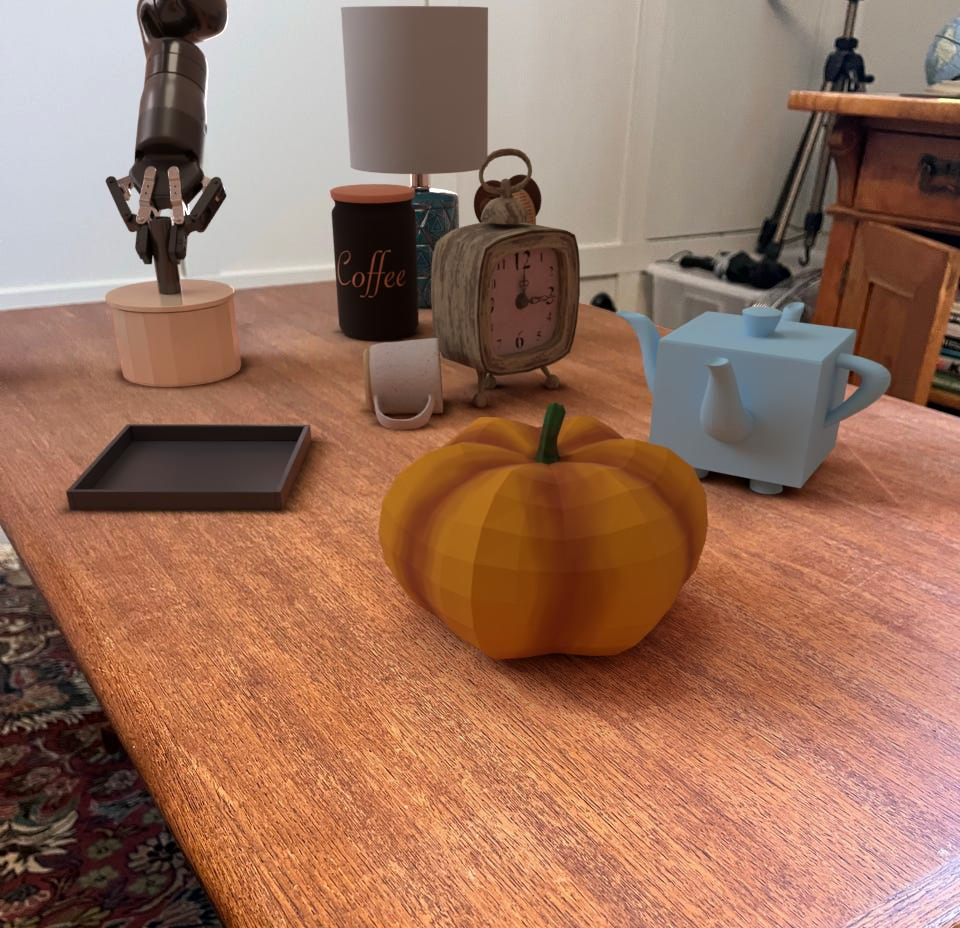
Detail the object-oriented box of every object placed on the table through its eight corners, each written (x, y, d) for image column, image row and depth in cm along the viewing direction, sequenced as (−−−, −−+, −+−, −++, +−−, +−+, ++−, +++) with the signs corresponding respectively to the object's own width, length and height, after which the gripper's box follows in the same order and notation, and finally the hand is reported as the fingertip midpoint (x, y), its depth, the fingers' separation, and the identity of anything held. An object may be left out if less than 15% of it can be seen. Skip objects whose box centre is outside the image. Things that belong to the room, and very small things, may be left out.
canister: (108, 389, 116) (93, 313, 111) (142, 356, 127) (130, 286, 123) (227, 389, 115) (217, 313, 111) (250, 356, 127) (242, 286, 123)
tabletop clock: (476, 416, 107) (476, 156, 95) (425, 396, 113) (418, 149, 101) (574, 390, 115) (587, 147, 103) (522, 372, 121) (527, 141, 109)
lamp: (391, 325, 141) (377, 5, 121) (339, 297, 155) (318, 8, 136) (510, 309, 149) (515, 6, 129) (450, 284, 163) (446, 9, 144)
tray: (70, 513, 86) (65, 491, 85) (130, 443, 100) (126, 424, 99) (282, 513, 86) (280, 491, 85) (311, 443, 100) (310, 424, 99)
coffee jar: (328, 341, 133) (317, 193, 124) (355, 322, 142) (347, 182, 133) (405, 346, 131) (400, 196, 122) (428, 326, 140) (425, 185, 131)
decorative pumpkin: (384, 557, 79) (374, 364, 71) (664, 549, 80) (684, 359, 72) (380, 704, 61) (367, 471, 54) (737, 691, 63) (774, 461, 55)
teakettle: (883, 499, 89) (921, 328, 81) (686, 521, 85) (707, 343, 77) (775, 429, 104) (799, 280, 97) (604, 444, 100) (615, 291, 93)
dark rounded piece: (527, 366, 124) (532, 188, 113) (427, 349, 130) (423, 179, 120) (582, 339, 135) (590, 175, 124) (487, 324, 141) (488, 167, 131)
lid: (89, 317, 111) (72, 228, 106) (128, 289, 123) (114, 207, 119) (220, 318, 111) (209, 229, 106) (246, 289, 123) (237, 208, 119)
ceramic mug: (368, 401, 112) (364, 330, 108) (442, 399, 112) (441, 329, 108) (364, 435, 103) (359, 360, 99) (444, 434, 103) (443, 359, 99)
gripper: (99, 103, 113) (84, 239, 109) (224, 104, 113) (214, 239, 109) (122, 151, 121) (109, 280, 116) (239, 151, 121) (230, 280, 116)
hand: (160, 259), depth 113 cm, fingers closed on lid, 2 cm apart
